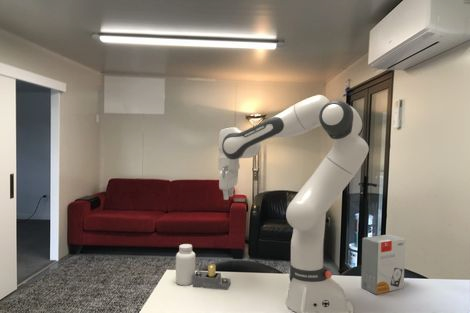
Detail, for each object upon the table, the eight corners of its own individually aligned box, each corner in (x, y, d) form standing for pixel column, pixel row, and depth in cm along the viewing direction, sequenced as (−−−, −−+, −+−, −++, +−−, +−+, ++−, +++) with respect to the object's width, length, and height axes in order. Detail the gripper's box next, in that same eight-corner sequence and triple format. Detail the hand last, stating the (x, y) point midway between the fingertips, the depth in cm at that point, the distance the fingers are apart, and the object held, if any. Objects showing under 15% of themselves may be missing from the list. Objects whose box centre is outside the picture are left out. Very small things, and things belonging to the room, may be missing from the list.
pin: (216, 283, 127) (216, 264, 127) (214, 287, 124) (214, 267, 124) (209, 283, 127) (209, 263, 127) (207, 286, 124) (207, 266, 124)
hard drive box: (376, 295, 117) (376, 242, 116) (360, 287, 124) (360, 237, 123) (404, 288, 123) (405, 238, 123) (388, 280, 130) (388, 233, 130)
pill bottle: (191, 286, 124) (191, 249, 124) (172, 284, 126) (172, 248, 126) (197, 278, 132) (197, 243, 132) (180, 277, 134) (179, 242, 133)
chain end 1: (220, 282, 128) (220, 271, 128) (217, 288, 122) (217, 276, 122) (197, 280, 130) (197, 269, 130) (192, 286, 124) (192, 274, 124)
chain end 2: (230, 283, 127) (230, 276, 127) (227, 289, 121) (227, 282, 121) (206, 281, 129) (206, 274, 129) (202, 287, 123) (202, 280, 123)
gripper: (230, 166, 122) (230, 202, 122) (240, 164, 142) (240, 194, 142) (215, 166, 123) (215, 201, 123) (226, 164, 143) (226, 194, 143)
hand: (228, 197), depth 133 cm, fingers open, 8 cm apart
